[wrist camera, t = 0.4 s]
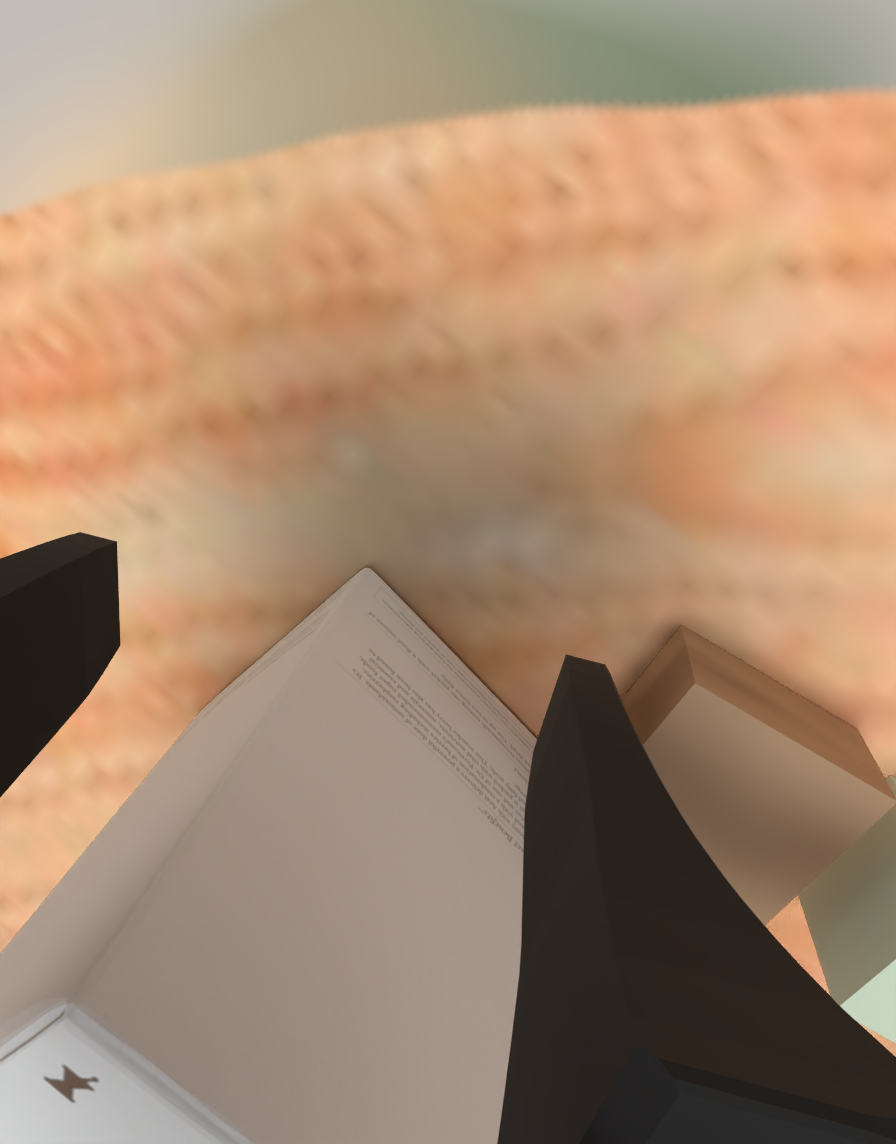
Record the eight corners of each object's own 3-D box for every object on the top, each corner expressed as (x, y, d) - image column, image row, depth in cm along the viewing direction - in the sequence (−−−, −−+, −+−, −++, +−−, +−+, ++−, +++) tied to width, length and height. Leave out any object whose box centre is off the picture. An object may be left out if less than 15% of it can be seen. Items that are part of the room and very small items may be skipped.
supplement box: (187, 715, 27) (-241, 1207, 13) (369, 557, 23) (53, 995, 10) (373, 890, 28) (167, 1495, 14) (568, 765, 25) (540, 1399, 11)
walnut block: (726, 855, 25) (746, 942, 22) (567, 763, 25) (564, 839, 22) (854, 724, 23) (897, 801, 20) (680, 621, 23) (695, 683, 19)
